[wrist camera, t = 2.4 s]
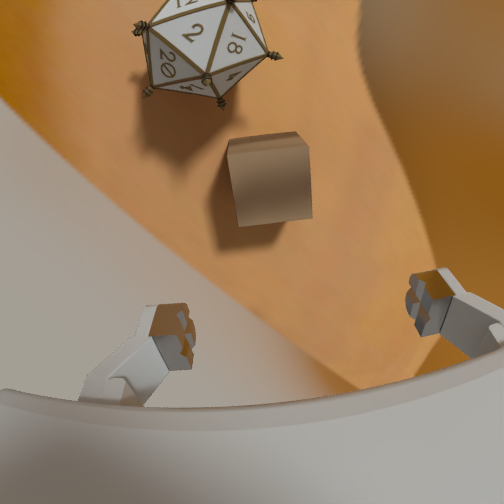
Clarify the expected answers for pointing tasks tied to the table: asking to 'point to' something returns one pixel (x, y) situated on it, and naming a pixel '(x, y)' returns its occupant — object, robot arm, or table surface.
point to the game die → (202, 46)
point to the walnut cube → (270, 178)
